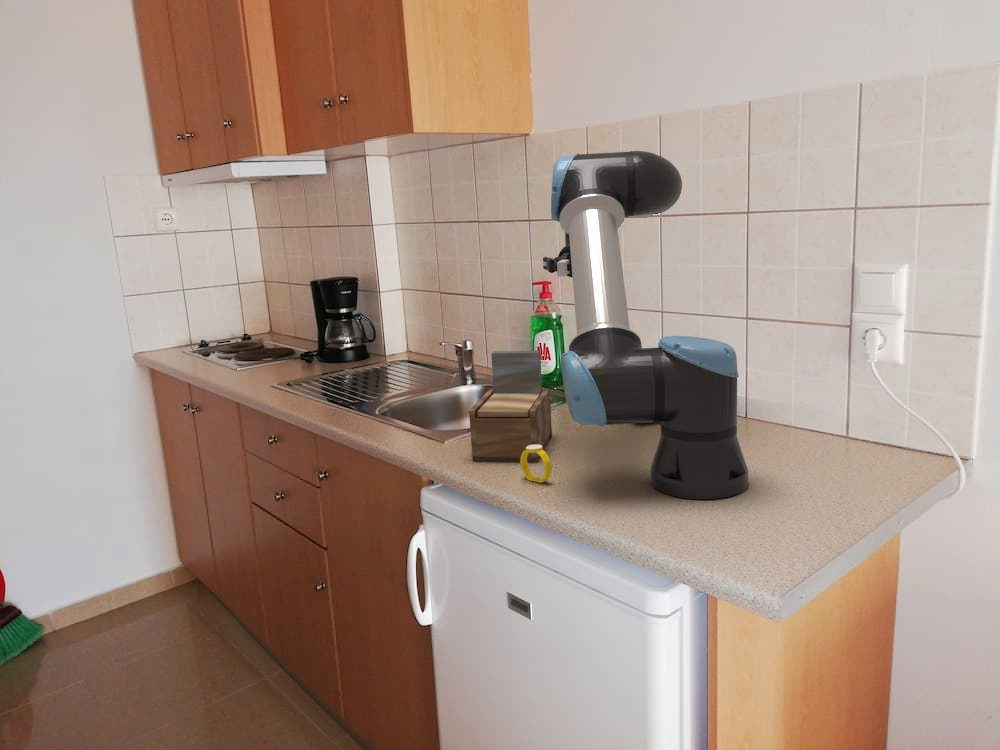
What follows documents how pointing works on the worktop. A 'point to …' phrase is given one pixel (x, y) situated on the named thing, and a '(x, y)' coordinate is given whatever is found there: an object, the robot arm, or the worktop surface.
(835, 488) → the worktop surface
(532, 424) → the walnut box
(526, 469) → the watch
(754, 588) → the worktop surface
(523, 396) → the lid
